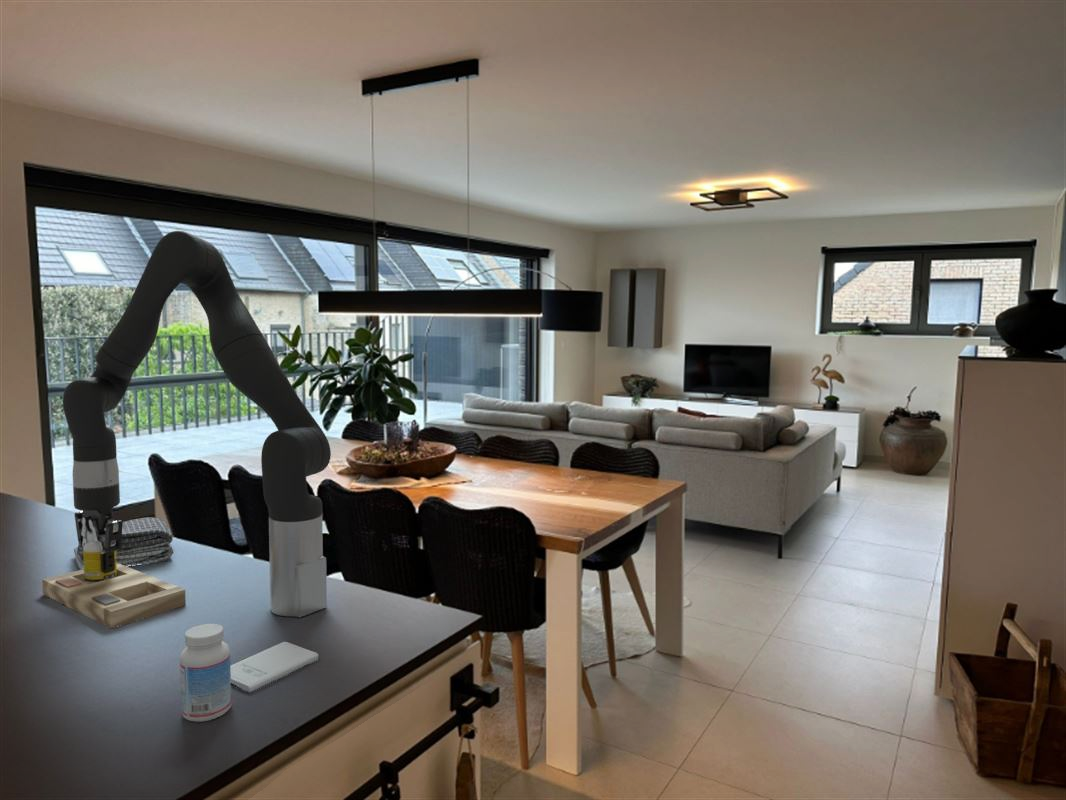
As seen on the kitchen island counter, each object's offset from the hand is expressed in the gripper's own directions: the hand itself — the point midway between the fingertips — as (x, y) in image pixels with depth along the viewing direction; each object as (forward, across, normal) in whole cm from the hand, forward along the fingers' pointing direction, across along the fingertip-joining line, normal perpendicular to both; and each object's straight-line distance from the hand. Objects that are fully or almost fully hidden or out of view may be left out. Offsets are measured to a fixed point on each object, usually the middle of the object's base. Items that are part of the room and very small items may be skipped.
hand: (100, 568), depth 138 cm
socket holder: (+4, -7, +1) cm, 8 cm away
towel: (+5, +16, -12) cm, 21 cm away
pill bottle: (+5, -57, +13) cm, 59 cm away
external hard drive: (+5, -53, +1) cm, 53 cm away
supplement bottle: (+3, 0, 0) cm, 3 cm away
